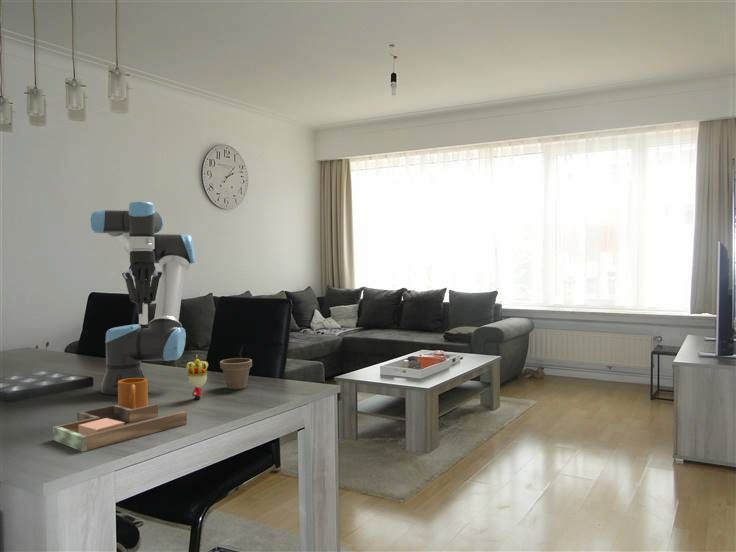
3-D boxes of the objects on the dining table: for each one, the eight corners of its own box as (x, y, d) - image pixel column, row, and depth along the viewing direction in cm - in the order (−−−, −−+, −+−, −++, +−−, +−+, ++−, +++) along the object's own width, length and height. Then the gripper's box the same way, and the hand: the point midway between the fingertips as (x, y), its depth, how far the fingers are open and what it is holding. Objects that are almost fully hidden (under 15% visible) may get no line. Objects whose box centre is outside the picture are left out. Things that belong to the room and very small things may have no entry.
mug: (111, 415, 180) (110, 385, 180) (122, 406, 192) (121, 378, 192) (142, 413, 181) (141, 384, 181) (151, 404, 193) (150, 376, 193)
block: (78, 439, 157) (78, 424, 156) (106, 432, 163) (106, 417, 163) (96, 445, 152) (96, 429, 152) (124, 437, 159) (124, 422, 159)
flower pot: (213, 389, 214) (213, 362, 214) (232, 383, 224) (231, 356, 224) (240, 392, 210) (240, 364, 209) (258, 385, 220) (258, 358, 220)
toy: (189, 396, 203) (188, 353, 203) (210, 396, 204) (210, 352, 204) (184, 401, 196) (183, 356, 196) (206, 401, 197) (206, 356, 196)
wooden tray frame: (37, 433, 161) (36, 420, 161) (139, 410, 185) (138, 399, 185) (82, 451, 146) (82, 437, 146) (186, 424, 170) (186, 411, 170)
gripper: (129, 250, 182) (131, 326, 183) (167, 250, 192) (168, 323, 193) (116, 250, 187) (117, 325, 187) (153, 250, 197) (154, 321, 198)
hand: (143, 324), depth 190 cm, fingers closed
